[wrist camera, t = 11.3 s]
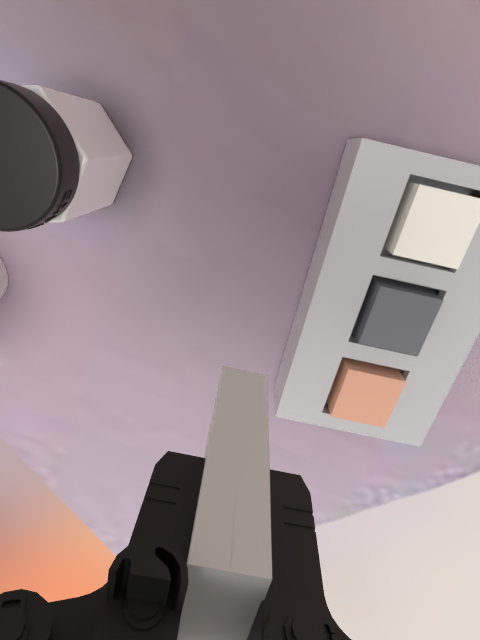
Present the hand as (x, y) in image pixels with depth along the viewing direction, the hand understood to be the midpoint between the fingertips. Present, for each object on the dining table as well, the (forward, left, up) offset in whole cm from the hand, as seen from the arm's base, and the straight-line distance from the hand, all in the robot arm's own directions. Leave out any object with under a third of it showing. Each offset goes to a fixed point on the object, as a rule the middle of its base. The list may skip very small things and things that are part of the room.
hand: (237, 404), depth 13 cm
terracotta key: (+9, +13, -20) cm, 25 cm away
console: (+2, +13, -24) cm, 27 cm away
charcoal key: (+2, +13, -20) cm, 23 cm away
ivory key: (-6, +13, -20) cm, 24 cm away
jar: (-4, -16, -24) cm, 29 cm away
